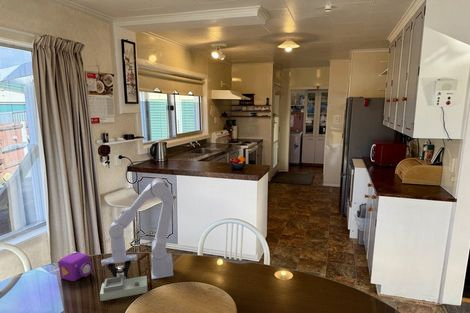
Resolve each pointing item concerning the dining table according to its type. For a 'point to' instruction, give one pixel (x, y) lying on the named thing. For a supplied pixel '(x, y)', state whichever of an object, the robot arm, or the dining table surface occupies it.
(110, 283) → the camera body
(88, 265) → the toy camera
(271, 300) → the dining table surface
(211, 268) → the dining table surface
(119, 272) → the lens
